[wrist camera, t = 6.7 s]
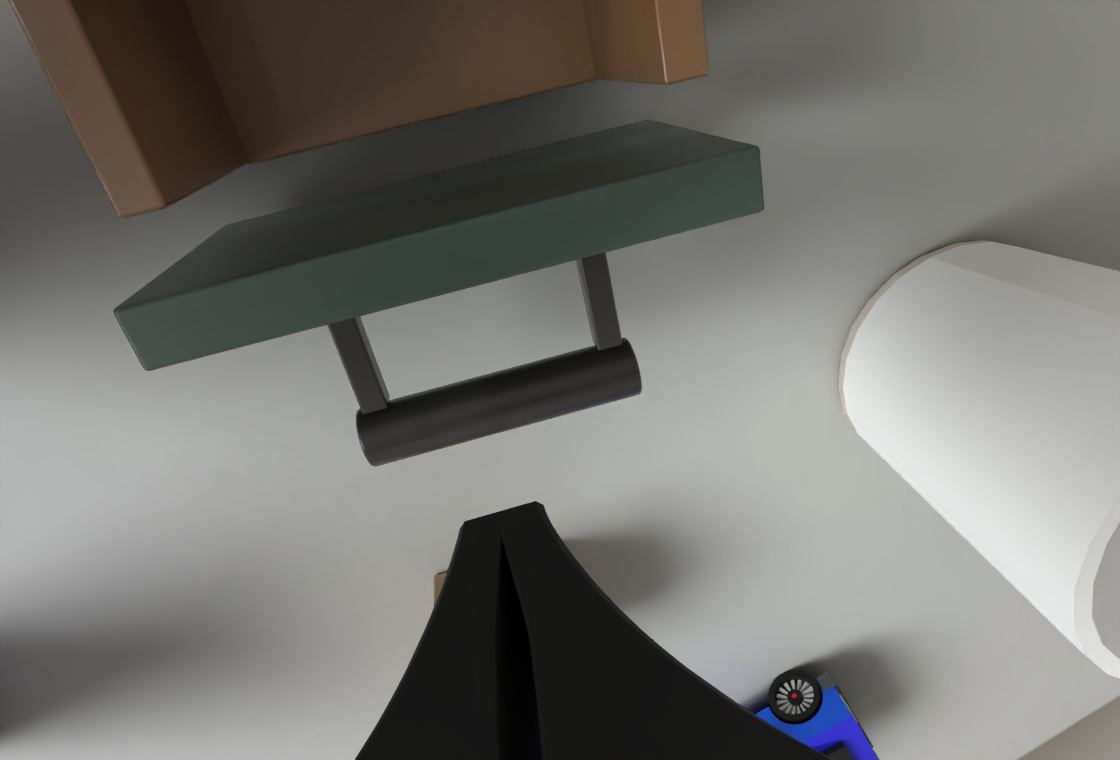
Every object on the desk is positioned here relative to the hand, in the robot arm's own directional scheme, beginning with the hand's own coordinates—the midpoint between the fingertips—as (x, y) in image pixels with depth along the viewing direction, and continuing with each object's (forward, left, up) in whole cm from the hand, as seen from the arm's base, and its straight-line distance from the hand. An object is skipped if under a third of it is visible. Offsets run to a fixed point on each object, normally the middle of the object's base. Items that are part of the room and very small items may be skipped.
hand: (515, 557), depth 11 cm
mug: (+16, -4, -10) cm, 20 cm away
